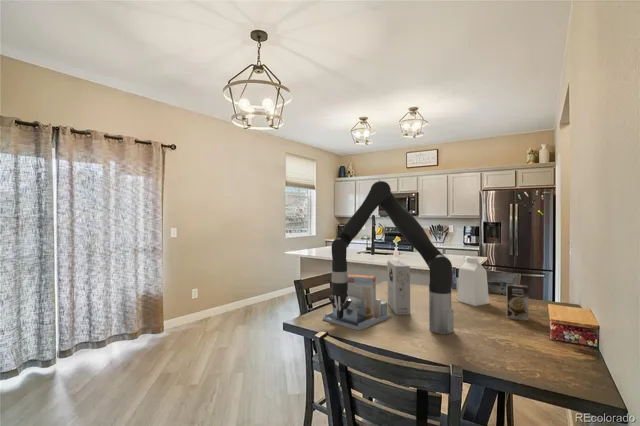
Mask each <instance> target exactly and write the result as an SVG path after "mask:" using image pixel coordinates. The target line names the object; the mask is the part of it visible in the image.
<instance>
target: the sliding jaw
mask: <svg viewBox="0 0 640 426" xmlns="http://www.w3.org/2000/svg"><path fill="white" fill-rule="evenodd" d="M348 298H349V299H351V300H352V302H351V303H350V305H349V306H348V308H347V309H345V310H343V318H341V319H340V318H338V317H337V310H336V308H334V307H333V306H332V312H333V318H332V319H335V320H338V321H341V322H345V323H348V324H351V325H355V326H358V323H361V322H363V321H366V299H362V298H357V297H353V296H348ZM345 303H346V302H345ZM338 306H339V305H338Z"/></svg>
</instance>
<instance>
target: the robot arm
mask: <svg viewBox="0 0 640 426" xmlns="http://www.w3.org/2000/svg"><path fill="white" fill-rule="evenodd" d="M379 206H380V207H381V208H382V210H384V211H385V213H386V214H387V216H388V217H389V219H390V220H391V222H392V223H393V225H394V227H396V229H397V231H398V232H399V233H400V235H401V236H402V237H403V238H404V239H405V240H406V241H407V243H408V244H409V245H411V246H412V247H413V248H414V249H415V251H417V252H418V253H419V255H420V256H421V257H422V259H423V260H424V262H425V264H426V266H427V268H428V269H429V283H428V284H429V285H428V306H429V307H428V309H429V310H428V311H429V312H428V313H429V314H428V315H429V319H428V321H429V324H428V325H429V331H430V332H432V333H435V334H439V335H447V336H448V335H450V334H452V333H454V309H452V288H453V287H452V286H453V265H452V261H451V260H450V259H449V258H448V257H446V255H444V254H443V253H442V252H441V251H440V250H439V249H438V248H437V247H436V246H435V245H434V244H433V243H432V241H431V240H430V237H429V236H428V234H427V232H426V231H425V230H424V228H423V227H422V225H421V224H420V223H419V221H418V220H417V219H416V218H415V217H414V216H413V215H412V214H411V213H410V212H409V211H408V210H407V209H406V208H405V207H404V206H403V205H402V204H400V203H399V201H398V200H397V198H396V197H395V195H394V194H393V192H392V189H391V186H390V184H389V183H388V182H386V181H385V180H378V181H376V182H373V184H372V185H371V186H370V189H369V191H368V193H367V196H366V197H365V198H364V200H363V202H362V203H361V205H359V208H357V210H356V211H355V213H353V215H352V216H351V217H350V218H349V219H348V221H347V223H345V225H344V227H343V228H342V230H341V231H340V233H339V234H337V236H336V238H334V240H332V241H331V258H332V262H331V270H332V271H331V291H332V293H331V295H329V296H328V299H329V300H328V301H330V303H331V305H332V308H333V307H334V308H336V310H337V317H338V318H340V319H341V318H343V310H345V309H347V308H348V306H349V305H350V303H351V302H352V300H351V299H349V298H348V294H347V291H348V275H349V274H348V260H347V252H348V251H347V249H348V247H349V246H350V244H351V242H352V241H353V239H355V238H356V236H357V235H358V234H359V232H361V230H362V229H363V227H365V225H366V223H367V222H368V220H369V219H370V217H371V215H372V214H373V213H374V212H375V210H376V209H377V208H378V207H379ZM345 302H346V303H345ZM338 305H339V306H338Z"/></svg>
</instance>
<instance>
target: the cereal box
mask: <svg viewBox="0 0 640 426" xmlns="http://www.w3.org/2000/svg"><path fill="white" fill-rule="evenodd" d="M386 262H387V264H386V265H387V268H386V269H387V272H386V273H387V305H389V307H390V308H391V310H392V311H393V312H394V314H395V315H411V266H410V265H408V263H405V262H404V261H402V260H399V259H398V260H397V259H390V260H389V259H387V261H386Z"/></svg>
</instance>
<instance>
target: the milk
mask: <svg viewBox="0 0 640 426" xmlns="http://www.w3.org/2000/svg"><path fill="white" fill-rule="evenodd" d="M487 274H488V273H487V270H486V268H485V267H483V265H482V264H481V263H480V261H479V259H478V257H477V258H476V257H471V256H467V258H466V260H465V261H464V263H463V264H462V265H461V266H460V268H459V269H458V277H457V278H458V281H457V283H458V284H457V299H456V301H457V302H460V303H463V304H466V305H470V306H474V307H477V306H483V305H489V303H490V301H489V289H488V285H489V284H488V275H487Z"/></svg>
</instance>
